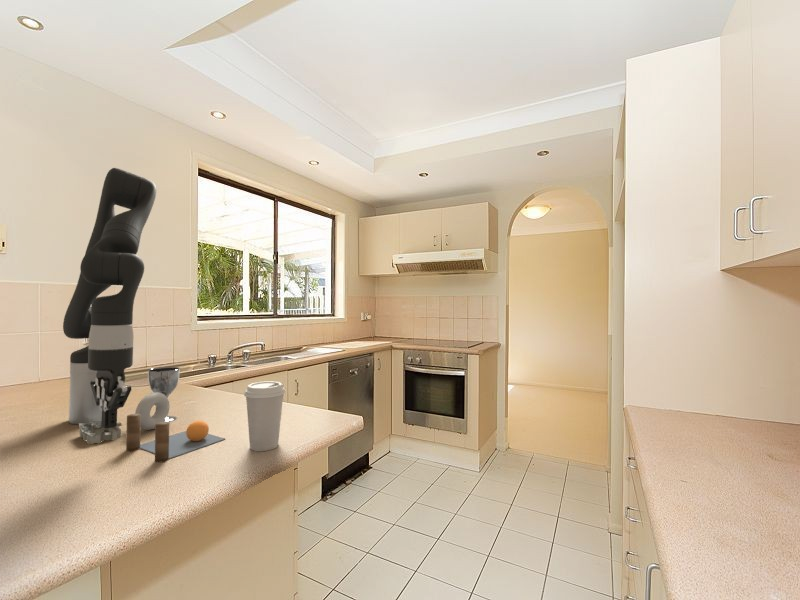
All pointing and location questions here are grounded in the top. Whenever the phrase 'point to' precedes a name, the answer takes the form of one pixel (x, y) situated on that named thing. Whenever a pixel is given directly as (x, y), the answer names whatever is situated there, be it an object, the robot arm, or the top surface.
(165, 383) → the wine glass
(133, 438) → the post
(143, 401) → the donut
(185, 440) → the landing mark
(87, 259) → the robot arm
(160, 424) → the post
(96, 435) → the egg carton
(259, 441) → the coffee cup
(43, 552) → the top surface
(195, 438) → the ball
